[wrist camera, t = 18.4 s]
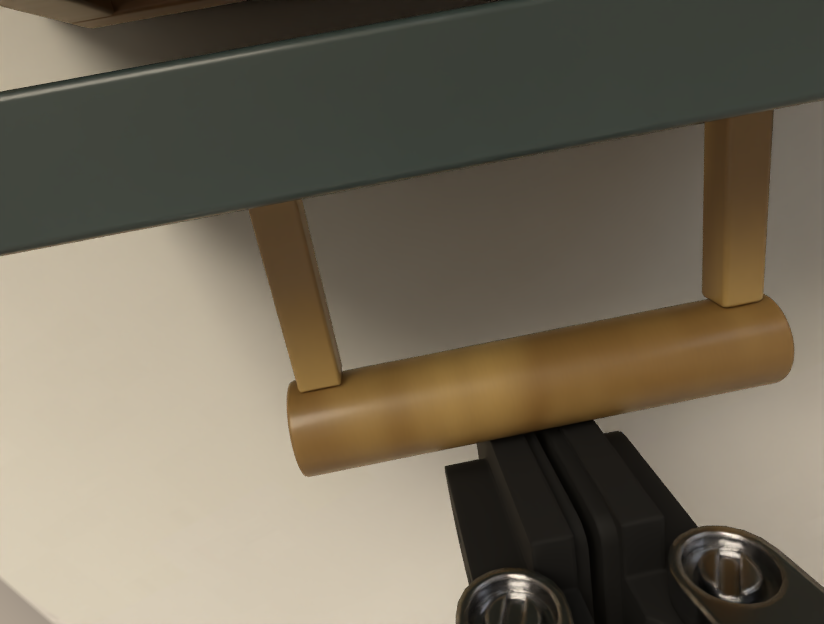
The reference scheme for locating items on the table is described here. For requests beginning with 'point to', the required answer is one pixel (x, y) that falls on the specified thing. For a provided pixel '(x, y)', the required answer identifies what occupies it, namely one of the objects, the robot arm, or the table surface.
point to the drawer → (424, 155)
